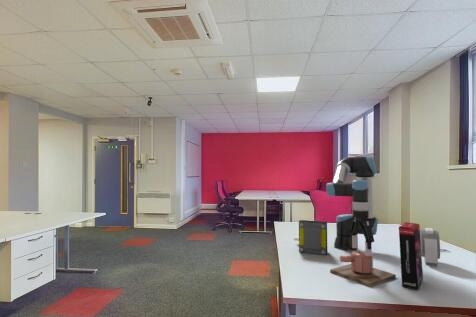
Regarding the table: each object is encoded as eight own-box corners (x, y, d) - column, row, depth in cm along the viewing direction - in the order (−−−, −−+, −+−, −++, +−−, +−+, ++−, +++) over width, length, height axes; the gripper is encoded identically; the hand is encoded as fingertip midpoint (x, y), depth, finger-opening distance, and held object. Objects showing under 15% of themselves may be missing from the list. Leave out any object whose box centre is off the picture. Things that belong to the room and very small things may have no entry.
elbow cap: (366, 266, 141) (365, 251, 142) (376, 273, 132) (375, 256, 132) (337, 266, 140) (337, 251, 141) (345, 273, 131) (345, 256, 132)
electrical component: (298, 252, 176) (298, 221, 177) (300, 248, 185) (300, 219, 187) (326, 255, 169) (325, 223, 171) (327, 251, 178) (327, 221, 180)
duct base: (330, 272, 139) (329, 253, 140) (355, 265, 151) (355, 248, 152) (370, 287, 121) (369, 265, 121) (395, 277, 133) (395, 258, 133)
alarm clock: (441, 269, 146) (439, 231, 147) (422, 266, 150) (421, 229, 152) (437, 260, 161) (436, 226, 162) (420, 258, 165) (419, 225, 167)
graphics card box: (418, 291, 117) (416, 228, 119) (400, 287, 121) (398, 226, 123) (423, 280, 130) (420, 223, 132) (406, 276, 134) (404, 221, 136)
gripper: (381, 213, 126) (382, 259, 125) (355, 206, 151) (356, 244, 150) (366, 213, 126) (367, 259, 124) (342, 207, 151) (343, 245, 149)
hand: (361, 251), depth 137 cm, fingers open, 13 cm apart
